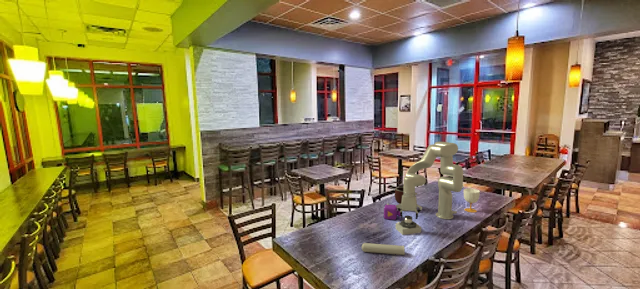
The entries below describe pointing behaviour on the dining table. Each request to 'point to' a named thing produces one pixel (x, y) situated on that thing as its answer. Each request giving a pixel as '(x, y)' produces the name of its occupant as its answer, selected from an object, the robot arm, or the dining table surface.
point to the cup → (471, 198)
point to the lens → (408, 220)
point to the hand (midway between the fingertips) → (409, 217)
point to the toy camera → (391, 212)
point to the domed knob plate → (408, 228)
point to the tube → (383, 248)
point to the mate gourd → (399, 195)
